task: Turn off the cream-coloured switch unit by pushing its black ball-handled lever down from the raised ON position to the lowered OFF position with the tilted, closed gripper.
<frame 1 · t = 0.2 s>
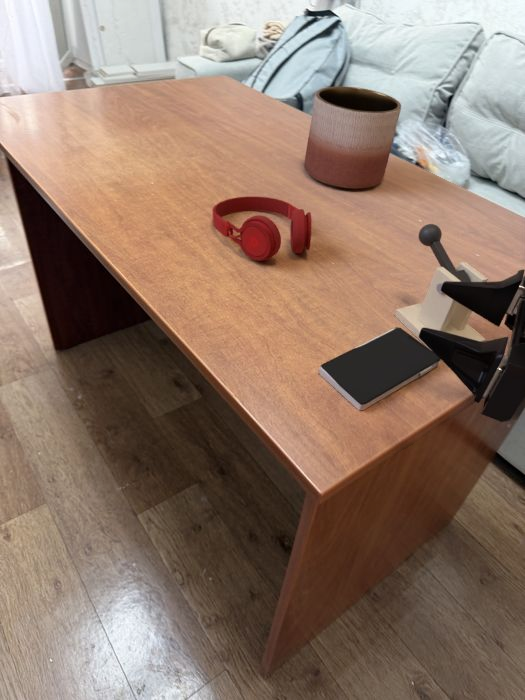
hand: (431, 307, 49), 15 cm above the table, tool horizontal, fingers open, 9 cm apart
switch unit: (437, 330, 70), on the table
switch lever: (443, 259, 66), point 10 cm above the table, hinge at 25.0°
smartphone: (379, 369, 63), on the table
headphones: (259, 236, 86), on the table
planter: (342, 175, 109), on the table
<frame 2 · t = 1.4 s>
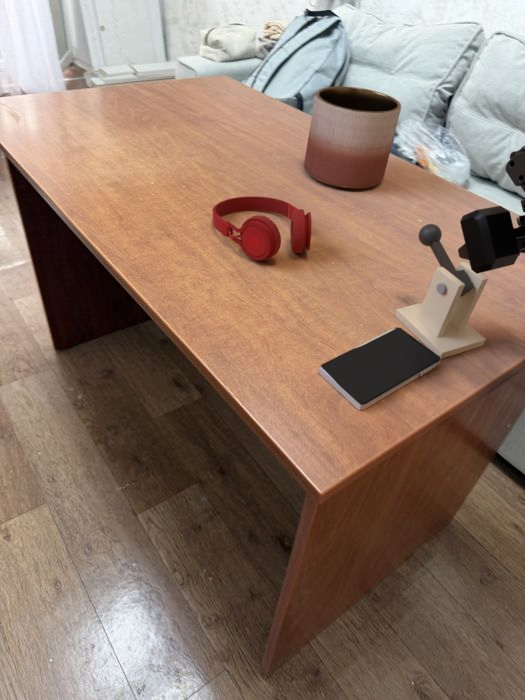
hand: (476, 249, 60), 14 cm above the table, tool tilted 45°, fingers open, 5 cm apart
nothing on the table moved.
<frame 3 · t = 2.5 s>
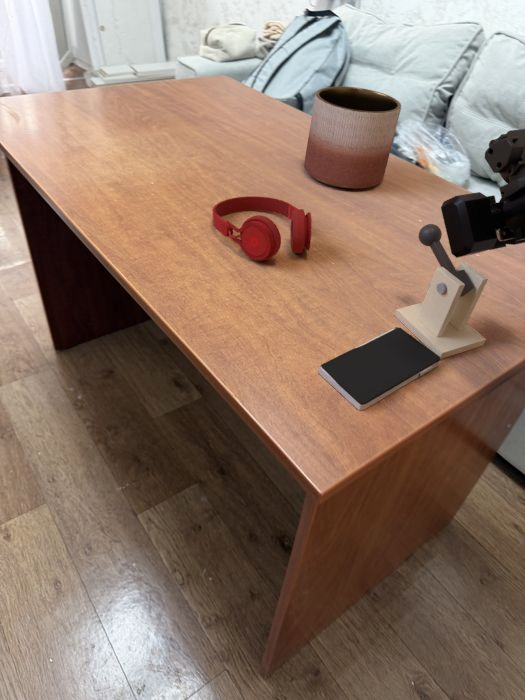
hand: (460, 236, 62), 14 cm above the table, tool tilted 45°, fingers closed
nothing on the table moved.
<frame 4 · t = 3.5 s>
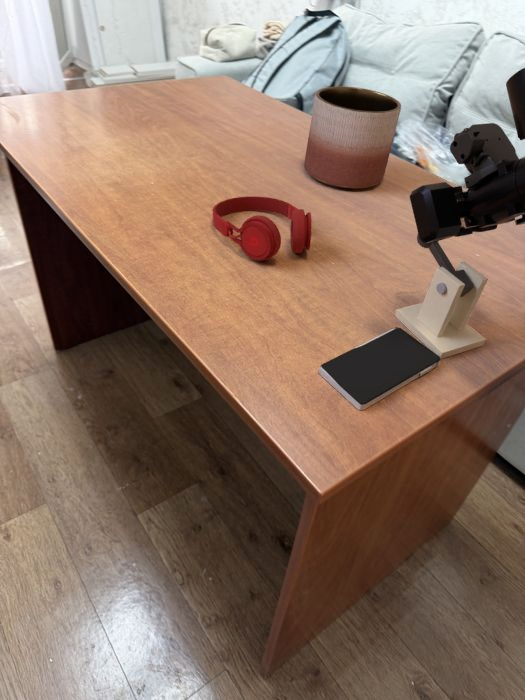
hand: (432, 226, 66), 13 cm above the table, tool tilted 45°, fingers closed, pressing on switch lever
switch lever: (442, 260, 66), point 10 cm above the table, hinge at 21.8°, touching gripper
everything else where it was.
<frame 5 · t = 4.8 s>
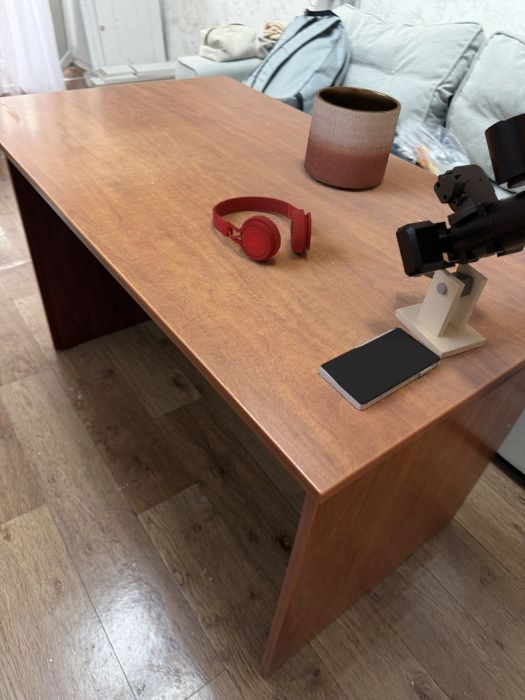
hand: (419, 255, 70), 8 cm above the table, tool tilted 45°, fingers closed, pressing on switch unit
switch lever: (435, 275, 68), point 7 cm above the table, hinge at -14.8°
everything else where it was.
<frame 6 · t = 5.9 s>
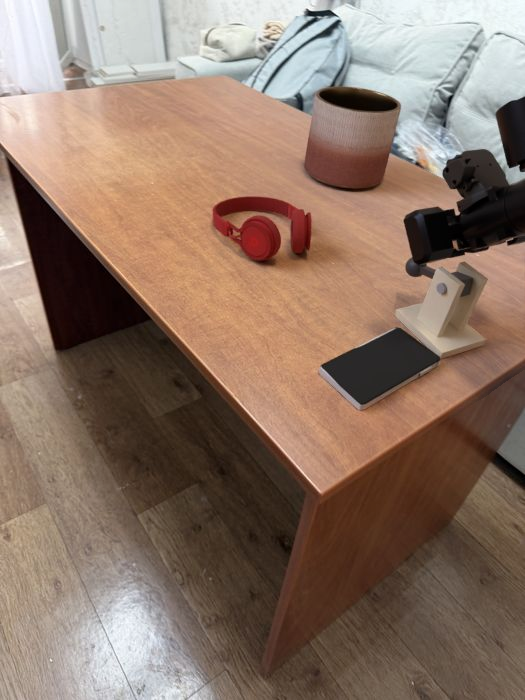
hand: (426, 245, 68), 10 cm above the table, tool tilted 45°, fingers closed
nothing on the table moved.
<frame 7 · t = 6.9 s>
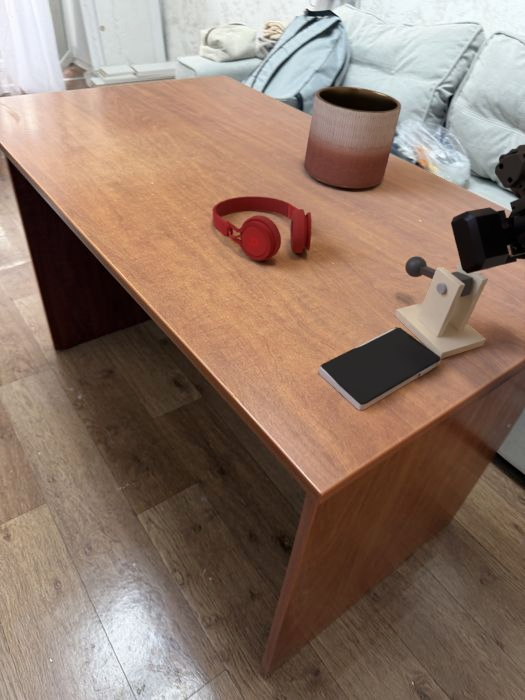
hand: (469, 250, 62), 13 cm above the table, tool tilted 45°, fingers closed
nothing on the table moved.
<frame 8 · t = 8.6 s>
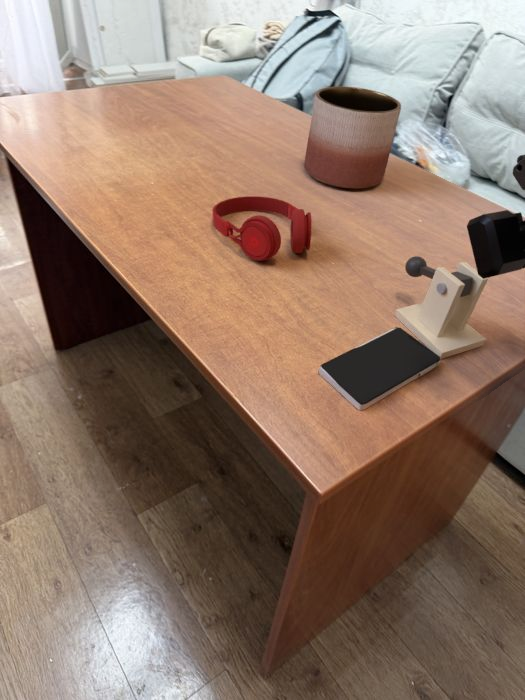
hand: (482, 253, 60), 14 cm above the table, tool tilted 45°, fingers closed
nothing on the table moved.
at the end: switch lever at -15° (first picture: +25°); planter moved 0.2 cm from its start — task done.
